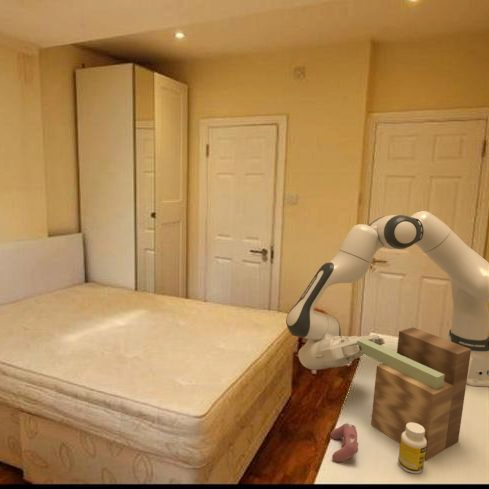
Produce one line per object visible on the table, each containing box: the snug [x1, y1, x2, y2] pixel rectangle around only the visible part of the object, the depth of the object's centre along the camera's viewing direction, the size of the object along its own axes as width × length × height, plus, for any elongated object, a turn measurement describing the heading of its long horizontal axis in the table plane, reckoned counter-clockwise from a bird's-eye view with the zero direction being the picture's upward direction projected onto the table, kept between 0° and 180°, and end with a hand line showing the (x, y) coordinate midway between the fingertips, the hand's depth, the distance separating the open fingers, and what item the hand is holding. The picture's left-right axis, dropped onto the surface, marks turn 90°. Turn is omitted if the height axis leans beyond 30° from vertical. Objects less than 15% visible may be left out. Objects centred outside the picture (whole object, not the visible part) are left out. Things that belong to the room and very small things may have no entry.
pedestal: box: [370, 327, 471, 462], centre depth 102 cm, size 16×14×25 cm
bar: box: [357, 339, 444, 389], centre depth 104 cm, size 24×3×3 cm, turn 33°
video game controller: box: [330, 422, 359, 463], centre depth 96 cm, size 10×5×7 cm, turn 171°
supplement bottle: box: [397, 422, 427, 474], centre depth 91 cm, size 5×5×10 cm
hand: (371, 344), depth 110 cm, fingers open, 8 cm apart
